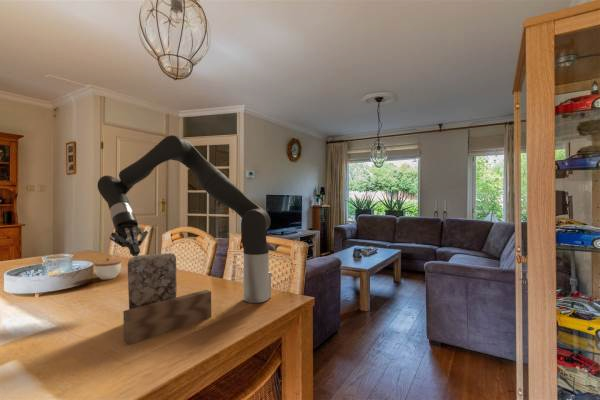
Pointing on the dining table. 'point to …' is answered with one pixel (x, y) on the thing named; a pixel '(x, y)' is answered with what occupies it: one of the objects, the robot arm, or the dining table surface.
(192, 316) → the stop bar
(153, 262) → the stone block
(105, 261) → the lidded jar
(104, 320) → the dining table surface
